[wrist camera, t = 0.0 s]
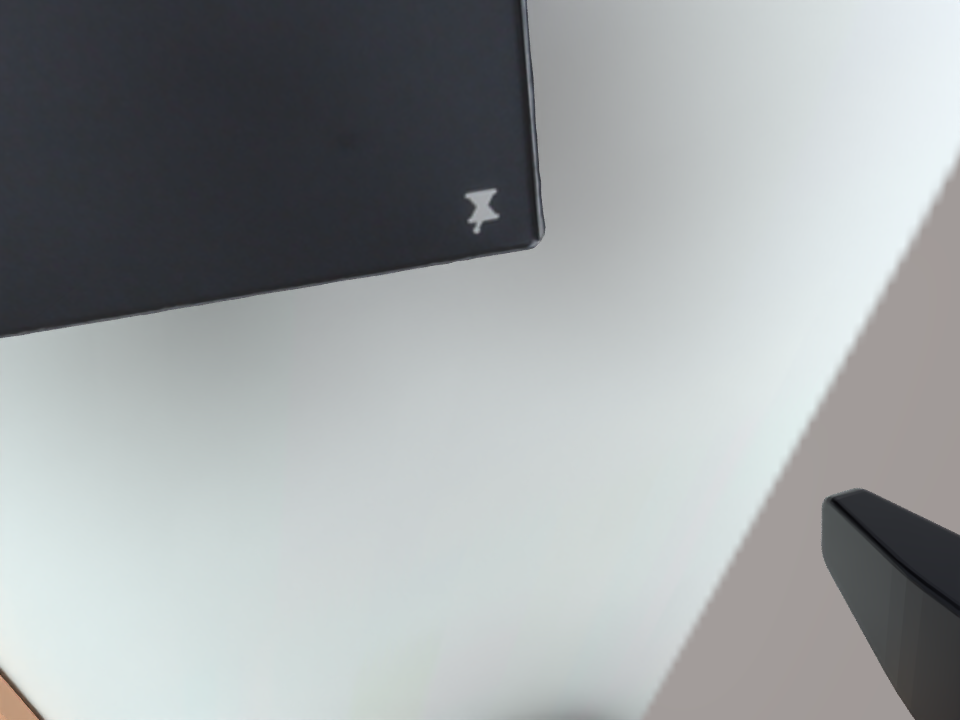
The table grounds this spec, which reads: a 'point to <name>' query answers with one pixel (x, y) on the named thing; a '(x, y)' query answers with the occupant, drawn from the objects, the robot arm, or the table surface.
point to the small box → (254, 148)
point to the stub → (13, 704)
